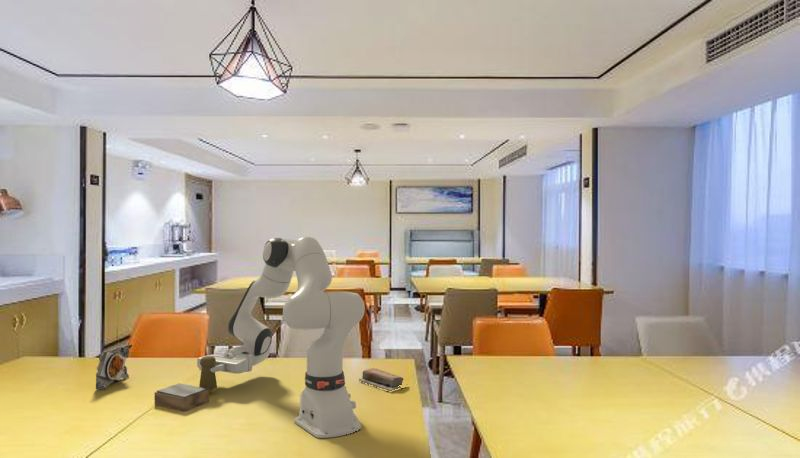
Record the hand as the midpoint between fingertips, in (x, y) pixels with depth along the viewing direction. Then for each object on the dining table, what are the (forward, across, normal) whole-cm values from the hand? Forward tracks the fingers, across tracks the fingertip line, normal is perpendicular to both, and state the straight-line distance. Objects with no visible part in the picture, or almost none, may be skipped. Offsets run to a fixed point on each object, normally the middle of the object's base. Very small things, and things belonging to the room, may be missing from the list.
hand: (205, 369), depth 177 cm
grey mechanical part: (+6, -40, +9) cm, 41 cm away
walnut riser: (+10, 0, +9) cm, 13 cm away
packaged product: (-38, +51, +10) cm, 64 cm away
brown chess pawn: (-1, 0, +7) cm, 7 cm away
